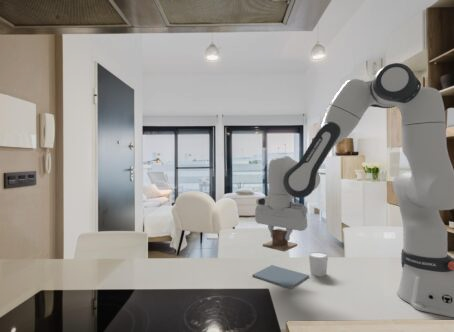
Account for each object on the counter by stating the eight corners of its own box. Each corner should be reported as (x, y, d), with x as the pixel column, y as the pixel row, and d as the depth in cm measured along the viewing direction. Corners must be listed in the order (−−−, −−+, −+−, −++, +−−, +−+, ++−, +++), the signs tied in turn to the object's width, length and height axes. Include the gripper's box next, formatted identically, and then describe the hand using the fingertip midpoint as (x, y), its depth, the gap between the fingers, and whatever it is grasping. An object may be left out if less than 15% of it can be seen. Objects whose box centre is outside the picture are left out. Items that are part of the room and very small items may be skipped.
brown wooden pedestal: (297, 245, 106) (297, 230, 106) (284, 251, 100) (284, 234, 99) (276, 241, 112) (276, 226, 112) (262, 246, 106) (262, 230, 106)
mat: (309, 276, 106) (309, 275, 106) (291, 288, 96) (291, 287, 96) (272, 266, 116) (272, 265, 116) (252, 276, 107) (252, 274, 107)
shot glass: (305, 271, 111) (304, 253, 110) (318, 268, 114) (318, 250, 113) (317, 278, 104) (317, 258, 104) (332, 274, 107) (332, 256, 107)
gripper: (310, 202, 101) (310, 242, 101) (262, 197, 115) (262, 232, 115) (302, 205, 96) (301, 246, 97) (252, 199, 110) (252, 235, 110)
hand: (279, 238), depth 106 cm, fingers closed on brown wooden pedestal, 4 cm apart
